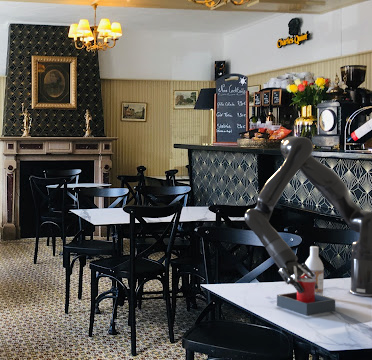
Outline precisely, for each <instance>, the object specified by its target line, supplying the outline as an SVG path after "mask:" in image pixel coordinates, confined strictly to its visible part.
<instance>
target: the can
mask: <svg viewBox="0 0 372 360" xmlns="http://www.w3.org/2000/svg"><path fill="white" fill-rule="evenodd" d="M297 282H299V283H300V284H301V286H302V287H303V288H304V292H303V293H301V294H299V292H298V291H297V290H296V292H297V300H298V301H301V302H304V303H312V302H315V281H314V280H313V279H310V278H299V277H298V278H297Z"/></svg>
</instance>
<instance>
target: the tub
mask: <svg viewBox="0 0 372 360" xmlns="http://www.w3.org/2000/svg"><path fill="white" fill-rule="evenodd" d="M276 306H277V307H279V308H282V309H285V310H288V311H292V312H294V313H298V314H300V315H303V316H313V315H319V314H325V313H331V312H335V311H336V299H334V298H331V297H328V296H325V295H323V296H321V295H317V294H315V302H312V303H304V302H301V301H298V300H297V291H294V292H287V293H280V294H276Z"/></svg>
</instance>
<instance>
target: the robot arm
mask: <svg viewBox="0 0 372 360" xmlns="http://www.w3.org/2000/svg"><path fill="white" fill-rule="evenodd" d="M313 151H314V144H313V142H312V141H311V139H310V138H308V137H305V136H298V135H297V136H296V135H293V136H288V137H285V138H284V139H282V141H281V143H280V152H281V154H282V155H283V157H284V158H285V160H284V162H283V164H282V165H281V166H280V168H278V170H277V171H276V172H275V173H274V174H273V175H272V176H271V177H270V178H269V179H268V180H267V181H266V183H265V184H264V186H263V187H262V189H261V191H260V192H259V194H258V196H257V198H256V202H257V203H256V206H255V208H249V209H247V210H246V211H245V213H244V217H243V218H244V222H245V223H246V224H247V226H248V227H249V228H250V230H251V231H252V232H253V233H254V234H255V236H256V237H257V238H258V239H259V242H260V243H261V244H262V246H263V247H264V248H265V249H266V251H267V253H268V255H269V256H270V257H271V259H272V261H273V262H274V264H276V266H277V268H278V269H279V270H278V271H277V272H278V273H279V275H280V276H281V278H282V279H283V281H284V282H285V284H287V285H291V286H293V288H294V289H295V290H296V292H297V291H298V292H299V294H301V293H303V292H304V288H303V287H302V286H301V284H300V283H299V282H297V280H298V279H299V278H306V277H307V278H310V279H312V278H313V277H314V276H315V275H314V274H313V273H312V271H311V270H310V269H309V268H308V266H307V265H306V264H305V262H303V263H301V264H300V263H299V262H298V260H299V258H298V257H299V256H297V255H296V254H295V252H294V250H293V249H292V248H291V247H290V246H289V244H288V243H287V242H286V241H285V240H284V239H283V237H282V236H281V235H280V234H279V232H278V231H277V230H276V229H275V228H274V227H273V226H272V225H271V223H270V222H269V221H270V219H271V216H272V213H273V211H274V208H275V206H276V205H277V203H278V202H279V200H280V198H281V196H282V194H283V192H284V191H285V190H286V188H287V186H288V185H289V183H290V182H291V180H292V179H293V178H294V176H296V174H297V173H298V172H299V171H300V172H301V173H302V174H303V176H305V178H306V179H307V180H308V181H309V183H310V184H312V186H313V187H314V188H315V190H317V191H318V193H319V194H320V195H321V196H322V197H323V198H324V199H325V200H326V201H327V202H328V203H329V204H330V205H331V206H332V207H333V208H334V209H335V210H336V211H337V212H338V214H340V216H341V217H342V219H343V220H344V222H345V223H346V224H347V226H348V227H349V228H350V229H351V230H352V231H354V232H355V233H359V235H358V236H359V237H358V240H357V241H354V242H352V243H351V263H350V264H351V267H350V269H351V270H350V290H349V291H350V294H353V295H356V296H361V297H372V211H370V210H365V209H362V208H361V207H359V205H357V203H356V202H354V200H353V199H352V198H351V195H350V192H349V189H348V186H347V184H346V183H345V182H344V181H343V180H342V178H341V177H340V176H339V175H338V174H337V173H336V172H335V171H333V170H332V169H331V168H329V166H327V165H326V164H323V163H322V162H321V161H319V160H317V159H316V158H315V157H314V156H313V155H312V153H313ZM308 272H309V273H310V274H308ZM305 276H306V277H305ZM317 288H318V286H317V284H316V283H315V290H316V289H317Z"/></svg>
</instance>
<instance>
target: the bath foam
mask: <svg viewBox="0 0 372 360" xmlns="http://www.w3.org/2000/svg"><path fill="white" fill-rule="evenodd" d="M319 248H320V247H319V246H314V245H311V246H310V247H309V256H308V258H307V259H306V260H305V262H304V263H305V264H306V265H307V266H308V268H309V269H310V270H311V271H312V273H313V274H314V275H315V276H314V277H313V278H312V279H313V280H314V281H315V283H316V284H317V286H318V288H317V289H316V290H315V294H317V295H321V296H324V274H325V273H324V271H325V269H324V264H323V262H322V260H321V258H320V257H319ZM308 274H310V273H309V272H308ZM305 277H306V276H305ZM306 278H307V277H306Z"/></svg>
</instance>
